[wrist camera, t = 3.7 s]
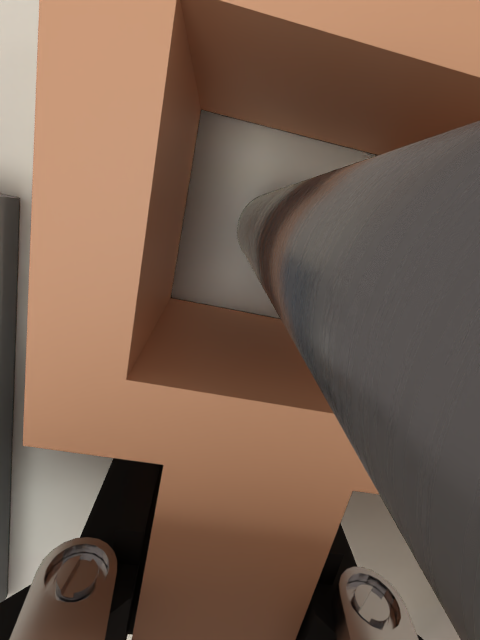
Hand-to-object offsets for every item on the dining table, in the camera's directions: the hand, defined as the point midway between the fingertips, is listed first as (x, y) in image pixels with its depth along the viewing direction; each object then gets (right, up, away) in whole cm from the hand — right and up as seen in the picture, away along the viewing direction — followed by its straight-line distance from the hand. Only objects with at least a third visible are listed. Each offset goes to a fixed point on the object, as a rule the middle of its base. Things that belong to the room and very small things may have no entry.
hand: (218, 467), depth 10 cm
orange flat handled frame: (+1, +4, -1) cm, 4 cm away
